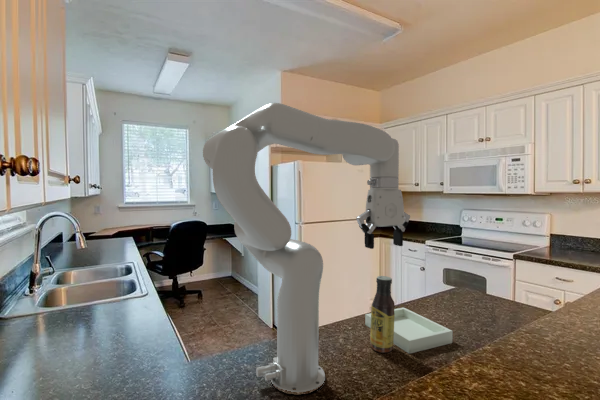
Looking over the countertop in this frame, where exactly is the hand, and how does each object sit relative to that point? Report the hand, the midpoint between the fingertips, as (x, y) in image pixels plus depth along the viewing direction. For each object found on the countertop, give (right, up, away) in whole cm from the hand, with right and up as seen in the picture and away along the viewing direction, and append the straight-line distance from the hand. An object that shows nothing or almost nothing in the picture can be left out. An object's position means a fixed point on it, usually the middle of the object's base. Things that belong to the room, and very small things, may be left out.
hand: (384, 246), depth 85 cm
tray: (+9, -28, +10) cm, 31 cm away
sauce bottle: (-1, -29, 0) cm, 29 cm away
